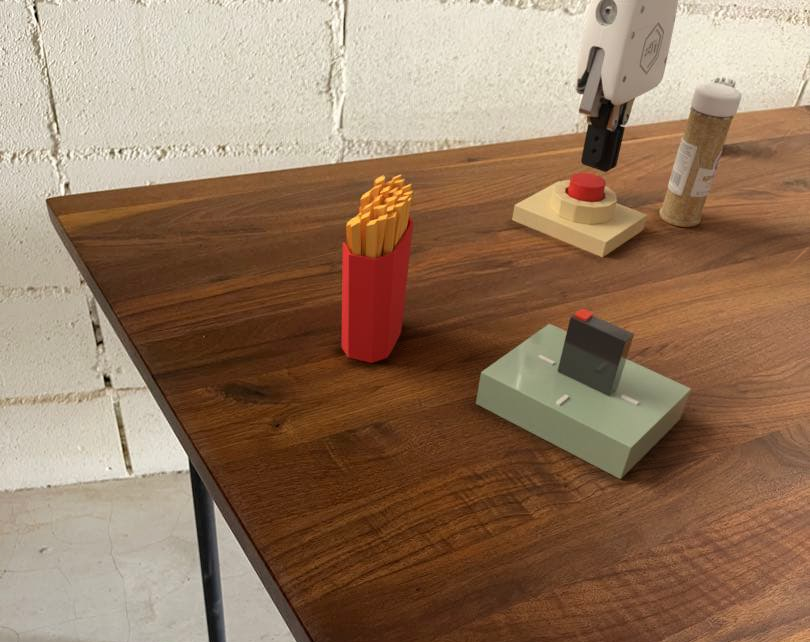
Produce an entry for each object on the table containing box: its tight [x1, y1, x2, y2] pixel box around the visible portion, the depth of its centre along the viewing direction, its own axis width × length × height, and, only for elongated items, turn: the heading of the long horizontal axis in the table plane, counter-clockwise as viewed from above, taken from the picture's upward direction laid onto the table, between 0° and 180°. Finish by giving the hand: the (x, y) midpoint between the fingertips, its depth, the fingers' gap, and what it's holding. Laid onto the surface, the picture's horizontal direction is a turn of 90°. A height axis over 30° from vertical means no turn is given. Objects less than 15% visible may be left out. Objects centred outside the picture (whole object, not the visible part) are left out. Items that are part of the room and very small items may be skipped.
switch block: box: [511, 179, 648, 258], centre depth 93 cm, size 11×9×4 cm
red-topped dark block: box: [557, 308, 635, 395], centre depth 66 cm, size 5×1×5 cm, turn 52°
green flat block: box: [475, 323, 692, 480], centre depth 69 cm, size 13×10×3 cm
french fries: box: [341, 173, 414, 364], centre depth 70 cm, size 9×4×13 cm, turn 165°
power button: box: [567, 172, 607, 202], centre depth 91 cm, size 4×4×2 cm
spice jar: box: [658, 82, 742, 228], centre depth 92 cm, size 5×5×13 cm
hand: (598, 165), depth 89 cm, fingers closed
